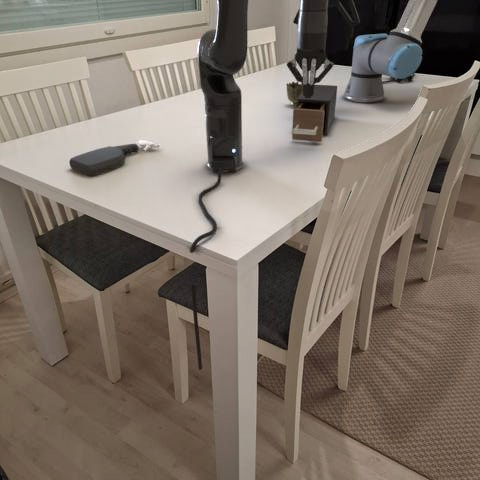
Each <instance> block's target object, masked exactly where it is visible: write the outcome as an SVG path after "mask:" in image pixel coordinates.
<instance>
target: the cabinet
mask: <svg viewBox="0 0 480 480" xmlns="http://www.w3.org/2000/svg"><path fill="white" fill-rule="evenodd" d="M337 93H338V85H330V84H314V94H313V96H311V98H310V99H309V98H305V96H303V91H302V92H301V94H300V95H299V97H298V98H297V104H296V107H295V108H298V107H299V105H300V104H301V102H311V103H327V109H326V121H325V128H324V130H323V134H322V137H323V136H324V137H325V136H326V137H327V136H328V134H329V132H330V129H331V126H332V125H333V122H334V119H335V117H336V116H335V115H336V114H335V113H336V104H337V95H338V94H337Z"/></svg>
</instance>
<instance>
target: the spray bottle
mask: <svg viewBox="0 0 480 480" xmlns="http://www.w3.org/2000/svg"><path fill="white" fill-rule="evenodd" d="M159 148H160V145H159V144H158V143H155V142H151V141H148V140H144V139H139V140H138V141H137V142H135V143H129V144H128V143H126V144H122V145H113V146H105V147H100V148H97V149H94V150H90V151H87V152H83V153H81V154H78V155H74V156H73V157H70V159H69V161H68V162H69V167H70V168H71V169H72V170H74V171H75V172H78V173H81V174H83V175H85V176H89V177H90V176H91V177H92V176H95V175H99V174H102V173H105V172H107V171H110V170H113V169H116V168H118V167H120V166H122V165H123V164H124V163H125V158H126V156H127V155H131V154H133V153H138V151H140V150H143V151H144V152H146V151H147V150H149V149H159Z"/></svg>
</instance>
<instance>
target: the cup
mask: <svg viewBox="0 0 480 480" xmlns="http://www.w3.org/2000/svg"><path fill="white" fill-rule="evenodd" d="M302 91H303V83H301V82H300V83H299V82H298V81H296V82H295V81H292V82H289V83H288V82H287V83H286V96H287V99H288V101H289V102H290V106H291V107H294V108H296V104H297V98H298V97H299V95H300V94H301V92H302Z"/></svg>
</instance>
